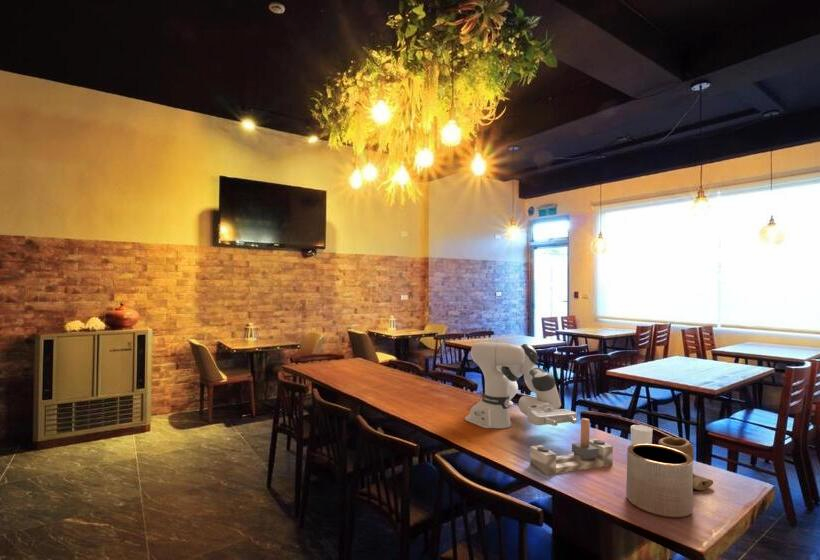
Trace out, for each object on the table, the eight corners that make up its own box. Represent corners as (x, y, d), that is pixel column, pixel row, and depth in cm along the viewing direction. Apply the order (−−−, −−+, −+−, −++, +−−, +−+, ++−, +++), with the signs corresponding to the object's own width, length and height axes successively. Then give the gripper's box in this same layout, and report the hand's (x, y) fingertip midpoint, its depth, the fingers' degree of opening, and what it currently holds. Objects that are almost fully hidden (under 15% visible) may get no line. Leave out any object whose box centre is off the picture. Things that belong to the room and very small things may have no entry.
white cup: (640, 457, 171) (641, 431, 172) (625, 449, 179) (626, 425, 179) (656, 455, 174) (657, 430, 174) (641, 448, 181) (641, 424, 181)
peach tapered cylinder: (584, 461, 160) (585, 422, 160) (571, 454, 167) (572, 417, 167) (597, 459, 162) (598, 421, 162) (584, 452, 169) (585, 416, 169)
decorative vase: (518, 400, 254) (518, 357, 254) (517, 408, 237) (518, 362, 237) (487, 397, 259) (488, 355, 259) (484, 405, 242) (485, 360, 242)
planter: (676, 526, 122) (677, 470, 122) (614, 500, 136) (615, 450, 136) (702, 508, 132) (703, 456, 132) (643, 486, 146) (643, 439, 147)
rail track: (545, 475, 153) (545, 454, 153) (530, 465, 161) (530, 445, 162) (612, 465, 163) (612, 445, 163) (594, 456, 172) (595, 437, 172)
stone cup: (650, 479, 151) (650, 436, 152) (666, 471, 158) (666, 430, 159) (698, 497, 139) (699, 450, 139) (714, 488, 146) (714, 443, 146)
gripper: (564, 418, 191) (586, 428, 178) (524, 422, 184) (544, 433, 171) (564, 404, 191) (586, 412, 178) (524, 407, 184) (544, 416, 171)
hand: (565, 422), depth 174 cm, fingers open, 8 cm apart
